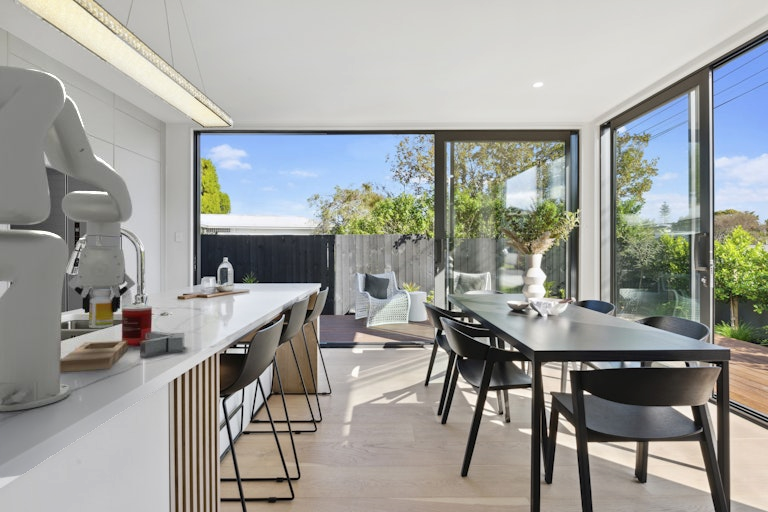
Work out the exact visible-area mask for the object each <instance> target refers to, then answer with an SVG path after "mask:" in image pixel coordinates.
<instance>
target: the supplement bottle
mask: <svg viewBox="0 0 768 512" xmlns="http://www.w3.org/2000/svg"><path fill="white" fill-rule="evenodd" d="M111 295H112V289H105V288H104V289H103V288H102V289H92V296H93V297H92V299H90V302H89V312H88V327H89V328H90V329H101V328H104V329H105V328H111V327H113V326H114V315H115V314H114V313H115V312H112V298H113V297H111Z"/></svg>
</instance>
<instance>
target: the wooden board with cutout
mask: <svg viewBox="0 0 768 512" xmlns="http://www.w3.org/2000/svg"><path fill="white" fill-rule="evenodd" d="M127 350H128V346H127V341H122V340H113V341H111V340H110V341H89V342H84V343H82V344H81V345H80V346H78V347H77V348H75V349H74V350H72V351H71V352H69V353H68V354H67V355H66V356H64V357H63V358H62V357H61V364H60V373H63V372H79V371H93V370H95V371H96V370H110V369H111V368H112V366H114V364H116V362H117V361H118V360H119V359H120V358H122V356H123V355H124V353H126V351H127Z"/></svg>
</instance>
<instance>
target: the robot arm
mask: <svg viewBox="0 0 768 512" xmlns="http://www.w3.org/2000/svg"><path fill="white" fill-rule="evenodd" d="M64 86H65V85H64V84H63V82H62V81H61V80H60V79H59V78H58V77H56V76H55V75H54V74H51V73H48V72H45V71H40V70H37V69H32V68H26V67H25V68H23V67H16V66H9V65H8V66H7V65H6V66H5V65H0V225H12V226H13V225H16V226H20V225H21V226H22V225H23V226H27V225H36V224H40V223H43V222H45V221H46V220H47V219H48V218H49V217H50V214H51V208H52V205H51V194H50V187H49V181H48V180H49V179H48V173H47V167H46V160H45V156H46V159H47V161H48V163H49V164H50V166H51V167H52V168H53V169H54V170H56V171H58V172H60V173H62V174H64V175H67V176H69V177H72V178H73V179H77V180H80V181H83V182H86V183H88V184H91V185H93V186H95V187H97V188H99V189H100V190H102V191H88V190H83V191H82V190H76V191H71V192H68V193H67V194H66V195H65V196H63V198H62V200H61V210H62V212H63V214H64V215H65V216H66V218H68V219H70V220H72V221H74V222H79V223H86V231H85V233H86V235H85V237H84V238H79V244H82V245H85V248H83V247H82V248H81V252H80V255H79V259H78V266H77V267H78V268H77V274H76V275H75V276H73V277H72V279H70V280H69V281H68V282H67V286H68V287H70V288H71V289H73V290H74V291H75V292H76V293H77V294H79V296H81V298H82V310H84V313H85V314H89V302H90V299H92V298H93V297H92V296H91V291H93V288H95V287H98V288H99V287H104V288H105V287H111V290H112V292H113V296H112V297H111V298H112V312H114V313H117V312H118V310H120V309H121V297H122V296H123V295H124V294H125V293H126V292H127V291H128V290H130V289H132V288H133V287H134V286H135V285H136V281H134V280H133V279H132V278H131V277H130V276H129V275H128V274H127V272H126V263H125V262H126V260H125V254H124V253H125V252H124V249H121V233H122V232H121V230H122V229H121V228H122V227H121V224H122V223H126V222H128V221H129V220H130V218H131V217H132V214H133V204H132V199H131V196H130V193H129V190H128V186H127V184H126V181H125V179H124V178H123V177H122V176H121V175H120V174H119V172H117V171H116V170H115V169H114V168H113V167H112V166H110V165H109V164H108V163H106V162H105V161H104V160H103V159H101V158H100V157H98V156H96V155H95V154H94V151H93V149H92V145H91V142H90V140H89V137H88V135H87V131H86V129H85V126H84V124H83V121H82V118H81V114H80V112H79V110H78V107H77V105H76V103H75V102H74V100H73V99H72V98H71V97H70V96H68V95H66V91H65V87H64ZM69 257H70V250H69V245H68V244H67V242H66V241H65V240H64V238H62V237H61V236H59V235H57V234H55V233H54V232H53V233H52V232H50V231H45V230H36V229H35V230H32V229H8V228H7V229H0V282H8V283H11V284H10V286H9V287H8V288H7V289H6V290H5V291H4V293H3V294H2V295H1V296H0V412H15V411H20V410H21V411H22V410H27V409H33V408H37V407H44V406H46V405H50V404H53V403H56V402H58V401H61V400H63V399H65V398H66V397H68V395H70V393H71V387H70V386H69V385H68V384H65V383H61V372H60V364H61V359H62V357H61V354H62V351H61V350H62V347H61V346H62V306H63V305H62V302H63V300H62V299H63V287H64V280H65V277H66V273H67V267H68V263H69ZM125 283H126V285H124V284H125ZM122 285H124V286H123V287H122V288H121V286H122Z"/></svg>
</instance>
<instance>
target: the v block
mask: <svg viewBox="0 0 768 512" xmlns="http://www.w3.org/2000/svg"><path fill="white" fill-rule="evenodd" d="M185 334H186V333H185V332H171V333H170V332H169V333H168V332H163V331H155V330H154V331H153V330H152V331H151V332H148V340H145V341H140V347H139V357H140V358H148V357H153V356H158V355H161V354H167V353H183V351H184V348H185V338H186V337H185Z"/></svg>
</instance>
